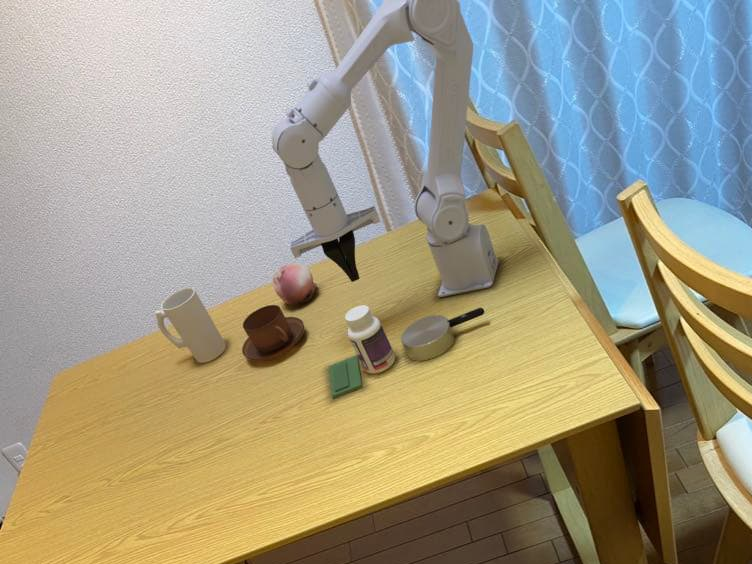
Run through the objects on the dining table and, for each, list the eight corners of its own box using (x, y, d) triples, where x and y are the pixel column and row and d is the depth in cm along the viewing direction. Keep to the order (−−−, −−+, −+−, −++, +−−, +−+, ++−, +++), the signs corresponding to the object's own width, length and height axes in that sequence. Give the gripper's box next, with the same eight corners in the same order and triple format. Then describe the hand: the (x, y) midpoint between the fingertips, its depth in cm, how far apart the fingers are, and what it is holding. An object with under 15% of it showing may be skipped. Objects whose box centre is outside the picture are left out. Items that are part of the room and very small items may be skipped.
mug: (231, 337, 162) (199, 283, 154) (222, 358, 157) (188, 303, 149) (186, 350, 165) (152, 297, 157) (176, 371, 161) (140, 318, 153)
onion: (279, 301, 165) (262, 268, 161) (314, 281, 166) (298, 248, 161) (290, 316, 159) (272, 283, 155) (326, 295, 160) (309, 262, 155)
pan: (410, 367, 133) (403, 352, 131) (404, 341, 139) (398, 327, 137) (493, 334, 131) (487, 319, 129) (483, 309, 136) (478, 294, 135)
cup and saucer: (319, 325, 153) (305, 295, 149) (284, 368, 147) (268, 338, 143) (270, 326, 159) (255, 297, 155) (235, 367, 153) (218, 339, 149)
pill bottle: (400, 351, 137) (378, 300, 130) (389, 373, 134) (365, 321, 127) (371, 354, 139) (348, 304, 133) (359, 375, 136) (335, 325, 130)
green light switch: (358, 357, 140) (356, 353, 140) (362, 387, 134) (360, 382, 133) (330, 368, 141) (327, 364, 140) (333, 399, 134) (330, 394, 134)
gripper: (361, 171, 132) (393, 250, 141) (276, 209, 134) (313, 284, 143) (366, 188, 127) (398, 268, 136) (277, 227, 129) (315, 303, 138)
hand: (355, 278), depth 139 cm, fingers closed
